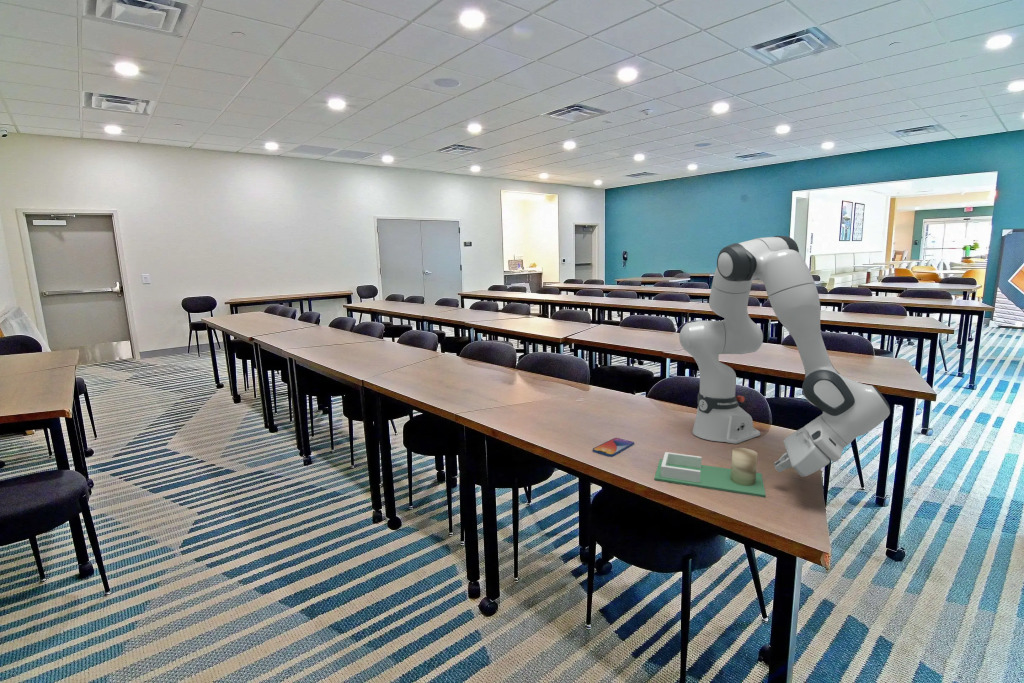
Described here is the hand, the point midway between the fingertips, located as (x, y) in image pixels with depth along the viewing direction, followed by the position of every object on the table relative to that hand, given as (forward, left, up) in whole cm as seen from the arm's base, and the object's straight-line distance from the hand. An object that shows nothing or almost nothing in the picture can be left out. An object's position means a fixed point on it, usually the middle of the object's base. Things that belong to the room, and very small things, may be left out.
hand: (776, 468), depth 128 cm
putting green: (+11, -12, -5) cm, 17 cm away
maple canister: (+5, -5, -5) cm, 9 cm away
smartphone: (+22, -41, -6) cm, 47 cm away
